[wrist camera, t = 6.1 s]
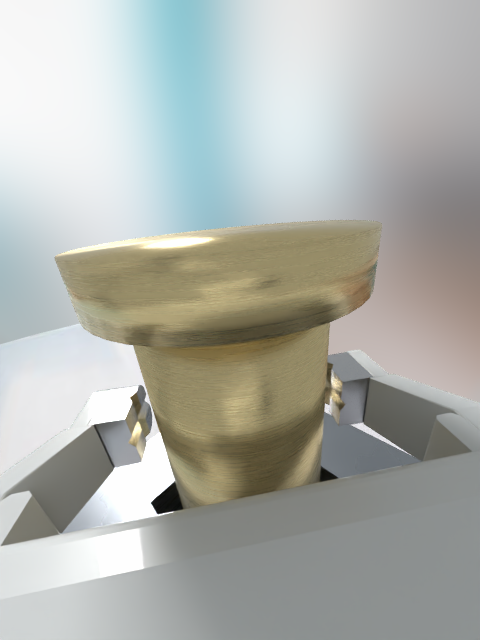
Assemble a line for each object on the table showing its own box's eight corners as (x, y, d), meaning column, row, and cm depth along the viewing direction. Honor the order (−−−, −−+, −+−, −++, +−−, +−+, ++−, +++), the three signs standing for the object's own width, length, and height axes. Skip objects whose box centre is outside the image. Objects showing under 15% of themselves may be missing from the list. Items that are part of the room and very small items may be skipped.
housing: (297, 1205, 4) (295, 1524, 2) (92, 567, 12) (52, 508, 10) (434, 548, 12) (462, 481, 10) (251, 422, 20) (245, 372, 18)
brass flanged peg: (265, 746, 7) (160, 290, 1) (154, 540, 11) (32, 252, 6) (362, 531, 11) (424, 214, 6) (252, 444, 16) (230, 226, 10)
